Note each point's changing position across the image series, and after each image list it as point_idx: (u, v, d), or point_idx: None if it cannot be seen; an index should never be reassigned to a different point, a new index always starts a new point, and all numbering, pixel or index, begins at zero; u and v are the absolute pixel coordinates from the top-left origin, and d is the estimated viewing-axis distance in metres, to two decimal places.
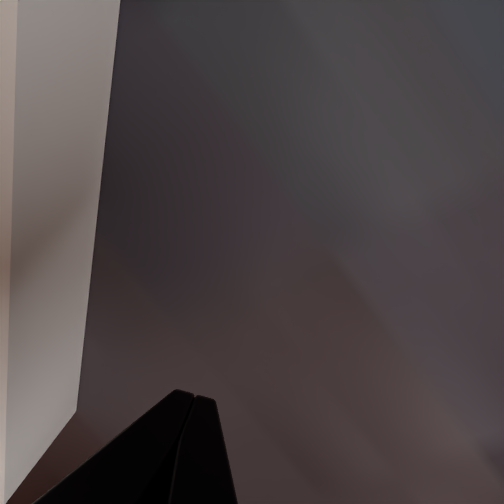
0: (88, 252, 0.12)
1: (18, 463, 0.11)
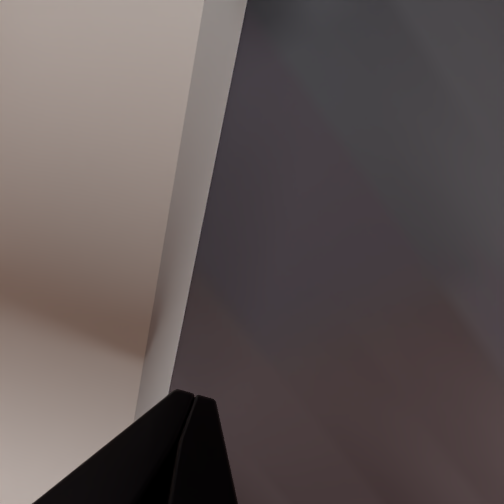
0: (187, 291, 0.12)
1: None
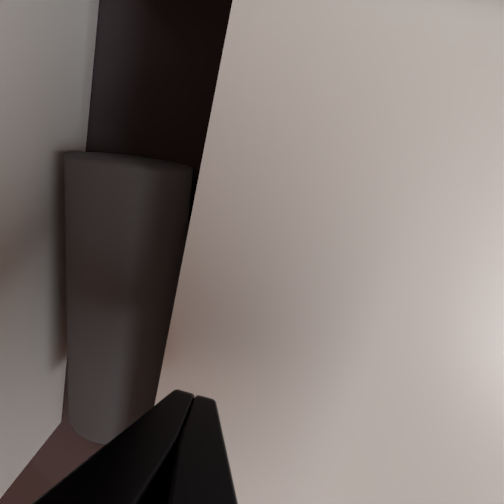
0: None
1: None
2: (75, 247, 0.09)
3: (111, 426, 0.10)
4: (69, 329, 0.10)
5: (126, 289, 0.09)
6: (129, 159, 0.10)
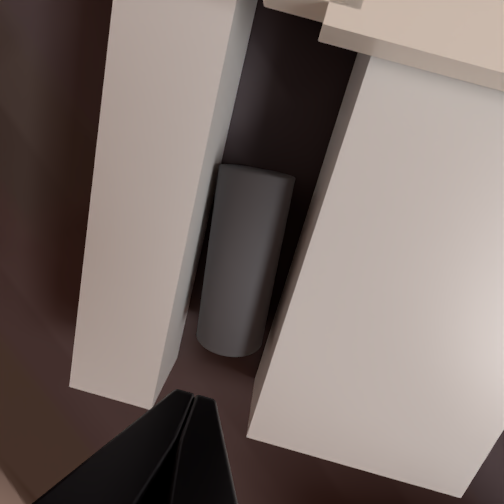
0: None
1: None
2: (221, 222, 0.15)
3: (227, 343, 0.16)
4: (208, 275, 0.16)
5: (249, 250, 0.15)
6: (254, 169, 0.16)
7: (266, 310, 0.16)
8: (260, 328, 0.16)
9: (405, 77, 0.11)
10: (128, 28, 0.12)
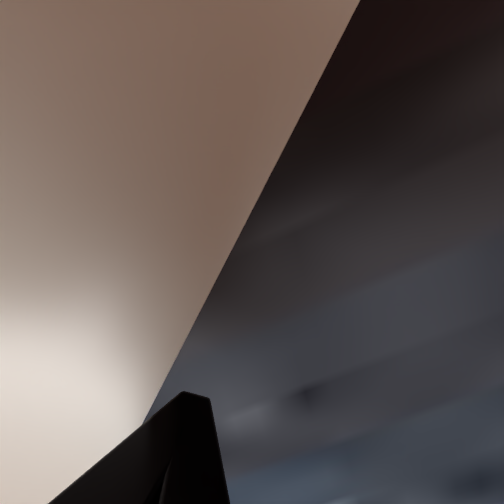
0: None
1: None
2: None
3: None
4: None
5: None
6: None
7: None
8: None
9: None
10: None
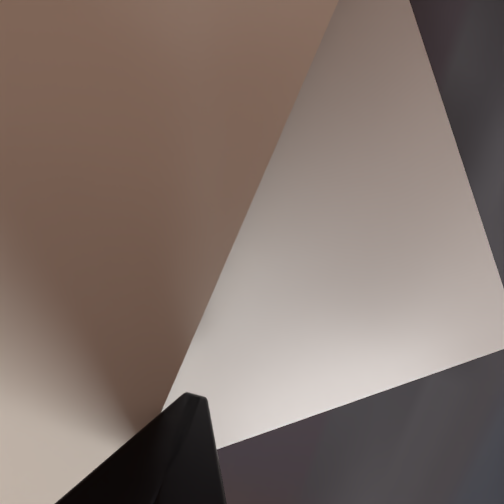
0: None
1: None
2: None
3: None
4: None
5: None
6: None
7: None
8: None
9: None
10: None
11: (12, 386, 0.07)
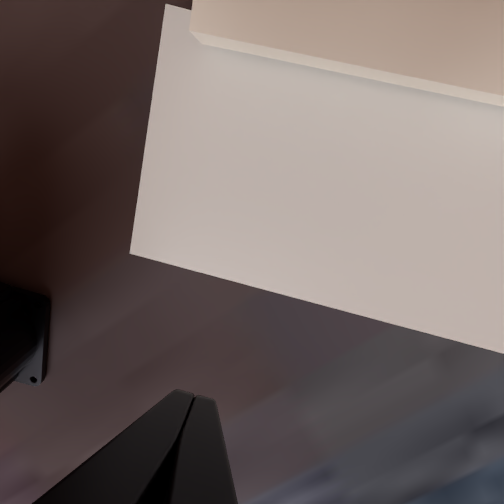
0: None
1: None
2: None
3: None
4: None
5: None
6: None
7: None
8: None
9: None
10: None
11: None
